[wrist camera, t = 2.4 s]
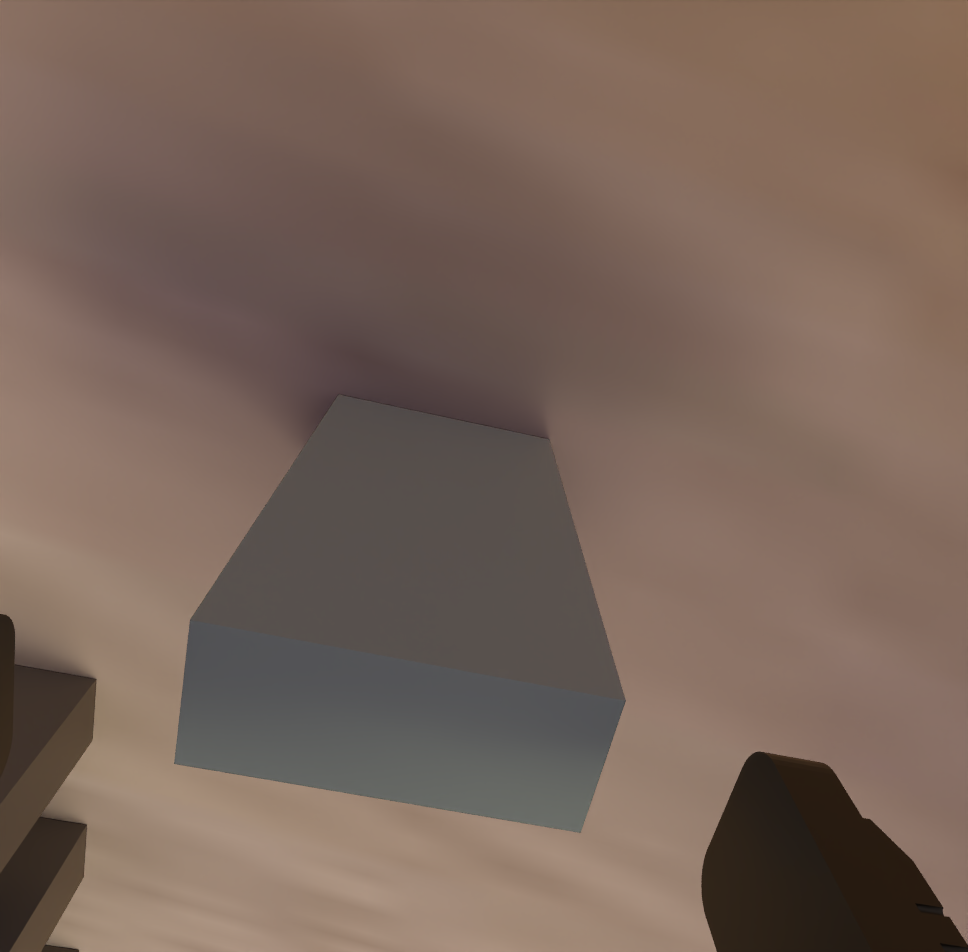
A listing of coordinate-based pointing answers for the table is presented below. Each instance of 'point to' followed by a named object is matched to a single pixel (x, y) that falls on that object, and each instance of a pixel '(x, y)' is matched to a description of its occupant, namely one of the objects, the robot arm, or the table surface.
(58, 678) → the domino
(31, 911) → the domino
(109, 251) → the table surface
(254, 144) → the table surface
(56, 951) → the domino
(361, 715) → the domino
